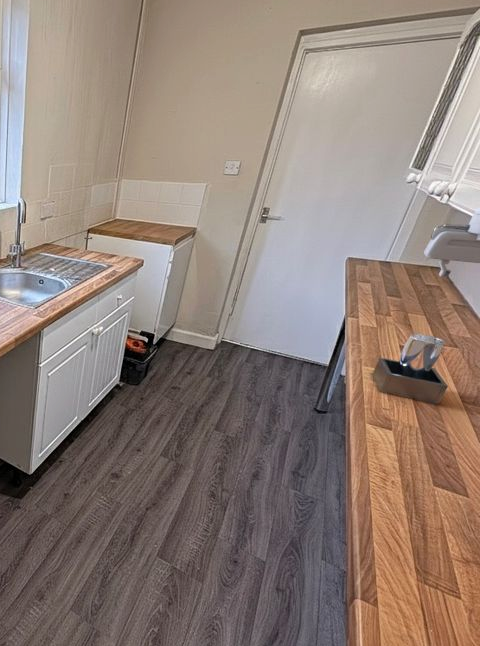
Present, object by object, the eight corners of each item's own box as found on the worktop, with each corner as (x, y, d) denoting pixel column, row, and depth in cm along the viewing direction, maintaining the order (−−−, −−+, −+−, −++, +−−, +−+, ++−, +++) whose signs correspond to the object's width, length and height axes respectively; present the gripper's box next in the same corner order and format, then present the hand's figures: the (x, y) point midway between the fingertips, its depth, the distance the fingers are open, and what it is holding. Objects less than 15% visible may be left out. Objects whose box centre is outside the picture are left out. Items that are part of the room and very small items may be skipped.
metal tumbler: (382, 383, 118) (404, 336, 112) (393, 377, 121) (415, 331, 115) (415, 395, 113) (440, 346, 107) (425, 388, 116) (450, 341, 110)
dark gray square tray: (425, 385, 119) (434, 368, 117) (438, 404, 110) (448, 386, 108) (372, 374, 125) (379, 357, 122) (379, 391, 116) (388, 373, 114)
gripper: (440, 224, 108) (417, 275, 113) (563, 232, 97) (531, 288, 103) (433, 221, 112) (411, 270, 118) (549, 228, 102) (519, 282, 107)
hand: (468, 279), depth 110 cm, fingers open, 8 cm apart
